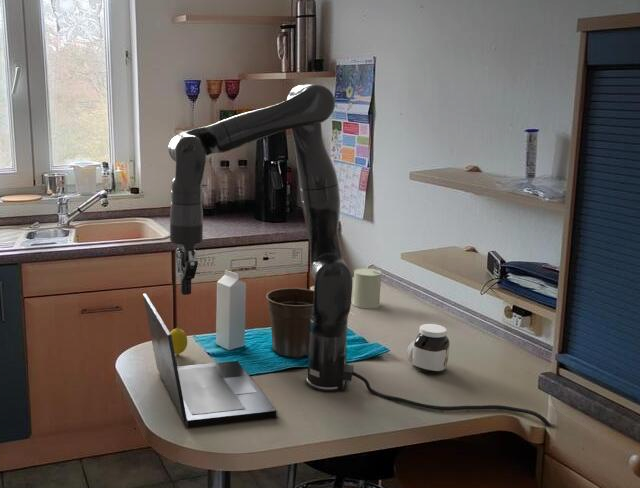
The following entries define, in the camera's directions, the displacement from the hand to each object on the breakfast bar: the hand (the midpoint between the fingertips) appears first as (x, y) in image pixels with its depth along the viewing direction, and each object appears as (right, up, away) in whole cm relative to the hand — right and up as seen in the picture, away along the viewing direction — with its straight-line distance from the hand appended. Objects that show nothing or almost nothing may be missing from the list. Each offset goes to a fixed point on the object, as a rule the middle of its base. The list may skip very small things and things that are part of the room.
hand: (185, 293), depth 173 cm
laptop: (+7, -25, +8) cm, 28 cm away
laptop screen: (-5, -14, +2) cm, 15 cm away
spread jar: (+64, -22, +26) cm, 73 cm away
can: (+60, -10, +78) cm, 98 cm away
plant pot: (+30, -19, +37) cm, 51 cm away
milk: (+12, -18, +40) cm, 46 cm away
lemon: (-3, -20, +32) cm, 38 cm away
